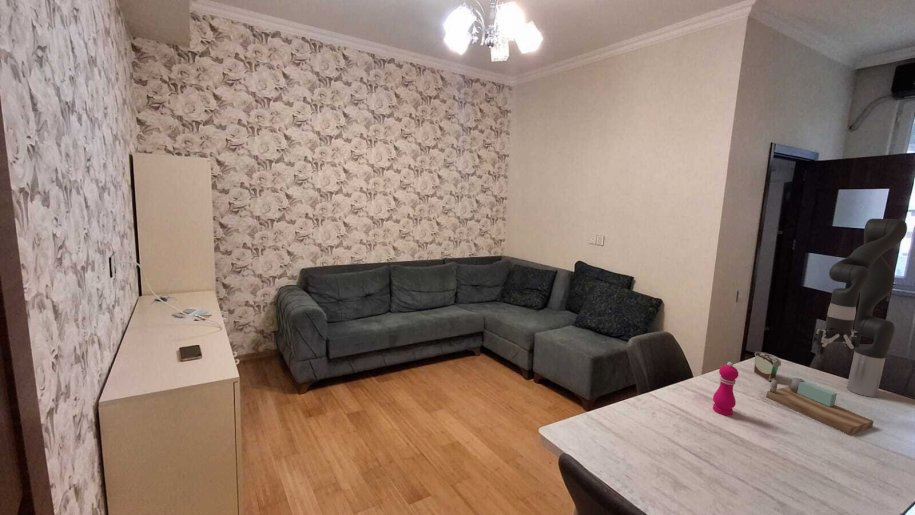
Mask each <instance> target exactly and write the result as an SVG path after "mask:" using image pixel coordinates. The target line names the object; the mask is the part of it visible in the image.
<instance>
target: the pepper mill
mask: <svg viewBox="0 0 915 515" xmlns="http://www.w3.org/2000/svg"><path fill="white" fill-rule="evenodd" d="M733 365H734V363H733V362H731V361H728V362H727V363H726V364H723V365H721V366H720V368H719V371H718V373H719V375H720V376H719V386H718V388H717V389H716V391H715V392H714V393H713V396H712V400H713V404H712V409H713V411H714V412H715V413H718V414H719V415H722V416H729V417H730V416H731V415H733V413H734V410H733V408H735V406H736V396H735V394H734V385H735V384H736V380H737V379H738V377H739V371H738V369H737V368H736V367H735V366H733Z"/></svg>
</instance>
